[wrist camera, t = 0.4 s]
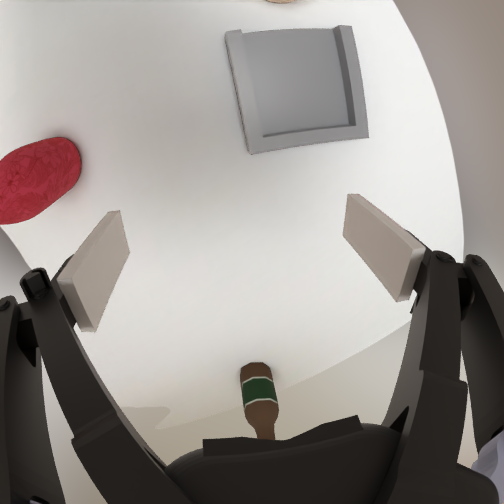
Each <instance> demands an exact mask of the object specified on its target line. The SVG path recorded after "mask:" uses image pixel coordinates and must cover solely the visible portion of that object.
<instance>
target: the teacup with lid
mask: <svg viewBox="0 0 504 504" xmlns="http://www.w3.org/2000/svg"><path fill="white" fill-rule="evenodd" d="M267 1H270V2H275V3H288V2H292V1H295V0H267Z"/></svg>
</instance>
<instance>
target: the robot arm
mask: <svg viewBox="0 0 504 504" xmlns="http://www.w3.org/2000/svg"><path fill="white" fill-rule="evenodd" d="M343 237H344V238H345V239H346V240H347V241H348V242H349V244H350V245H351V246H352V247H353V248H354V250H355V251H356V252H357V253H358V254H359V256H360V257H361V258H362V259H363V260H364V262H365V263H366V264H367V265H368V267H369V268H370V269H371V270H372V272H373V273H374V274H375V275H376V277H377V278H378V279H379V280H380V282H381V283H382V284H383V285H384V287H385V288H386V289H387V291H388V292H389V293H390V295H391V296H392V297H393V298H394V300H395V301H396V302H401V301H405V300H409V298H410V296H411V293H412V290H413V289H414V290H415V291H416V293H417V296H416V299H415V301H414V304H413V306H412V309H411V311H410V313H411V314H412V313H413V314H412V320H411V325H410V330H409V335H408V340H407V344H406V349H405V353H404V357H403V361H402V365H401V369H400V372H399V376H398V380H397V383H396V386H395V390H394V393H393V396H392V399H391V402H390V405H389V408H388V411H387V414H386V416H385V419H384V421H383V422H382V424H381V425H377V424H368V423H360V420H359V418H358V415H355V416H352V417H348V418H345V419H340V420H337V421H333V422H328V423H324V424H321V425H319V426H317V427H315V428H313V429H311V430H309V431H307V432H305V433H302V434H300V435H298V436H296V437H293V438H291V439H288V440H268V439H257V438H248V437H235V438H220V439H203V448H202V449H198V450H195V451H192V452H189V453H187V454H185V455H183V456H181V457H179V458H178V459H176V460H175V461H173V462H172V463H171V464H170V465H168V466H166V464H164V462H163V461H162V460H161V459H160V458H159V457H158V456H157V455H156V454H155V453H154V452H153V450H152V449H151V448H150V447H149V446H148V445H147V443H146V442H145V441H144V440H143V438H142V437H141V436H140V435H139V433H138V432H137V431H136V429H135V428H134V427H133V425H132V424H131V423H130V421H129V420H128V419H127V417H126V416H125V415H124V413H123V412H122V410H121V409H120V407H119V406H118V405H117V403H116V402H115V400H114V399H113V397H112V396H111V394H110V393H109V391H108V389H107V388H106V386H105V385H104V383H103V381H102V380H101V378H100V376H99V375H98V373H97V371H96V370H95V368H94V366H93V364H92V363H91V361H90V359H89V357H88V356H87V354H86V352H85V350H84V348H83V346H82V344H81V342H80V340H79V338H78V336H77V334H76V333H75V331H74V329H73V328H74V325H75V323H76V322H77V324H78V326H79V328H80V330H81V332H96V330H97V328H98V325H99V322H100V320H101V317H102V315H103V312H104V310H105V307H106V305H107V303H108V300H109V298H110V295H111V293H112V291H113V289H114V286H115V284H116V282H117V279H118V277H119V275H120V273H121V271H122V269H123V266H124V264H125V262H126V260H127V258H128V256H129V254H130V251H129V247H128V243H127V239H126V235H125V231H124V226H123V222H122V218H121V213H120V210H119V211H112V212H108V213H107V214H106V215H105V216H104V218H103V219H102V220H101V221H100V222H99V223H98V225H97V226H96V227H95V228H94V230H93V231H92V232H91V233H90V235H89V236H88V237H87V238H86V240H85V241H84V242H83V243H82V245H81V246H80V247H79V249H78V250H77V251H76V253H75V254H73V255H72V256H70V257H69V258H68V259H67V260H66V261H65V262H64V263H63V265H62V267H60V269H59V270H58V272H57V273H56V274H55V276H54V277H53V279H52V280H51V282H50V279H49V277H48V275H47V272H46V270H45V269H44V268H36V269H33V270H31V271H29V272H28V273H26V274H25V275H24V276H23V277H22V278H21V280H20V286H21V288H22V289H23V292H24V294H25V296H26V298H27V300H28V302H25V303H21V304H18V303H17V301H16V299H15V297H14V296H6V297H4V298H2V299H1V300H0V504H66V503H65V498H64V495H63V491H62V487H61V484H60V480H59V477H58V473H57V470H56V466H55V462H54V457H53V453H52V448H51V444H50V438H49V433H48V427H47V420H46V413H45V405H44V396H43V384H42V365H41V355H42V358H43V362H44V365H45V368H46V371H47V373H48V376H49V379H50V382H51V384H52V387H53V389H54V392H55V394H56V397H57V399H58V402H59V404H60V406H61V409H62V411H63V413H64V415H65V418H66V419H67V422H68V424H69V426H70V428H71V430H72V432H73V434H74V438H73V439H72V440H71V441H72V445H73V448H74V450H75V452H76V454H77V456H78V458H79V459H80V461H81V463H82V464H83V466H84V468H85V470H86V471H87V473H88V474H89V476H90V478H91V479H92V481H93V483H94V484H95V486H96V487H97V489H98V490H99V492H100V493H101V495H102V496H103V497H104V499H105V500H106V502H107V503H108V504H502V503H503V502H504V292H503V290H502V288H501V286H500V285H499V283H498V281H497V279H496V278H495V276H494V274H493V273H492V271H491V269H490V268H489V266H488V264H487V263H486V262H485V261H484V260H483V259H482V258H481V257H480V256H477V255H471V254H469V255H467V256H466V258H465V261H464V263H456V261H455V259H454V258H453V257H452V256H451V255H449V254H448V253H445V252H443V251H433V252H432V251H431V250H430V249H429V248H428V247H427V246H426V245H424V244H423V243H422V242H421V241H419V239H417V238H416V237H415V236H414V235H413V234H412V233H410V232H409V231H407V230H405V229H403V228H402V227H401V226H400V225H399V224H397V223H396V222H395V221H394V220H392V219H391V218H390V217H389V216H387V215H386V214H385V213H383V212H382V211H381V210H380V209H378V208H377V207H376V206H374V205H373V204H372V203H370V202H369V201H368V200H366V199H365V198H364V197H362V196H361V195H360V194H348V195H347V204H346V213H345V221H344V229H343ZM461 351H462V355H463V360H464V365H465V370H466V375H467V381H468V385H467V383H466V382H464V381H461V380H460V379H459V377H460V358H461ZM468 387H469V393H470V400H471V408H472V418H473V428H474V437H475V442H476V448H477V452H478V460H476V461H475V462H474V463H473V465H472V467H471V469H470V468H467V467H465V466H463V465H461V464H459V463H457V459H458V455H459V450H460V445H461V440H462V434H463V428H464V421H465V414H466V405H467V394H468Z"/></svg>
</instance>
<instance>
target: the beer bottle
mask: <svg viewBox="0 0 504 504" xmlns="http://www.w3.org/2000/svg"><path fill="white" fill-rule="evenodd" d="M240 382H241V390H242V398H243V406H244V412H245V417H246V419H247V421H248V423H249V424H250V425H251V426H252V427H253V428H254V429H255V431H256V434H257V438H258V439H268V440H275V434H274V423H275V421H276V419H277V417H278V412H279V408H278V401H277V397H276V392H275V388H274V383H273V378H272V374H271V370H270V368H269V367H268V366H267V365H265V364H264V363H250V364H248V365H246V366H244V367H242V368H241V374H240Z"/></svg>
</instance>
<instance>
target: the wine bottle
mask: <svg viewBox="0 0 504 504" xmlns="http://www.w3.org/2000/svg"><path fill="white" fill-rule="evenodd" d="M80 170H81V160H80V155H79V152H78V150H77V148H76V147H75V145H74V144H73V143H72V142H71V141H69V140H68V139H65V138H62V137H55V138H49V139H45V140H41V141H38V142H34V143H31V144H28V145H25V146H22V147H20V148H18V149H16V150H14V151H12V152H10V153H9V154H7V155H6V156H5V157H4V158H3V159H2V160H1V161H0V225H4V224H14V223H19V222H23V221H26V220H29V219H31V218H33V217H35V216H36V215H38V214H39V213H41V212H42V211H44V210H45V209H46V208H47V207H49V206H50V205H51V204H53V203H54V202H55V201H56V200H58V199H59V198H60V197H61V196H63V195H64V194H65V193H66V192H67V191H69V190H70V189H71V188H72V187H73V186H74V184H75V183H76V181H77V180H78V177H79V174H80Z"/></svg>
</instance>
